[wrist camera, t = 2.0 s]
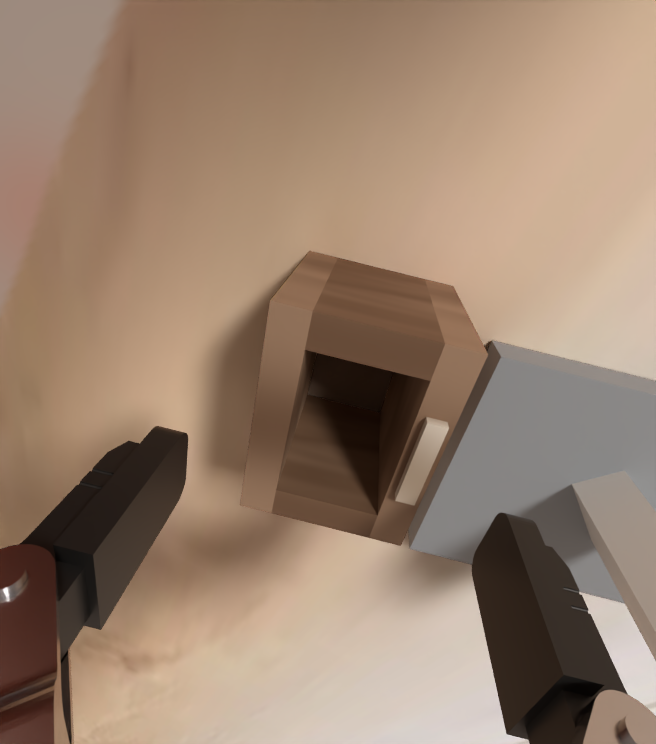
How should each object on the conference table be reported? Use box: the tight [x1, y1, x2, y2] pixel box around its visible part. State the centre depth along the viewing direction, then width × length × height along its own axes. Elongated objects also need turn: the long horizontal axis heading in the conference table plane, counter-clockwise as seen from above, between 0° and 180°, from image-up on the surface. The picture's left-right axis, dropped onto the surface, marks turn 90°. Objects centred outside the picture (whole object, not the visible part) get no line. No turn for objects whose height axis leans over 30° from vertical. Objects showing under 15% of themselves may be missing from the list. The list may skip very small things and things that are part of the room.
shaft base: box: [408, 341, 656, 660], centre depth 15 cm, size 11×14×10 cm
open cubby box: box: [240, 251, 488, 546], centre depth 14 cm, size 7×6×6 cm
